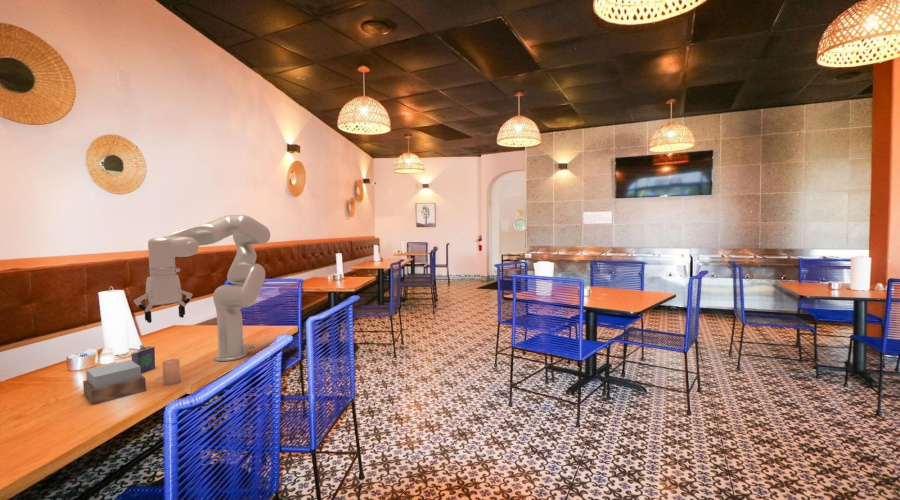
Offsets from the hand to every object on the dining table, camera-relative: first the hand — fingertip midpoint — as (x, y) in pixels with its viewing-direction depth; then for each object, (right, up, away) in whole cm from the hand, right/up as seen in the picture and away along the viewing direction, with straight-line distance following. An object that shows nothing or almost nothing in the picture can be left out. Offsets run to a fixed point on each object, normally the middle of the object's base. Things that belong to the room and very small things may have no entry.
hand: (165, 319), depth 142 cm
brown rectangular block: (+1, -23, +1) cm, 23 cm away
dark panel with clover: (-18, -23, +14) cm, 33 cm away
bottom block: (-13, -24, -6) cm, 28 cm away
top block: (-13, -19, -6) cm, 24 cm away
